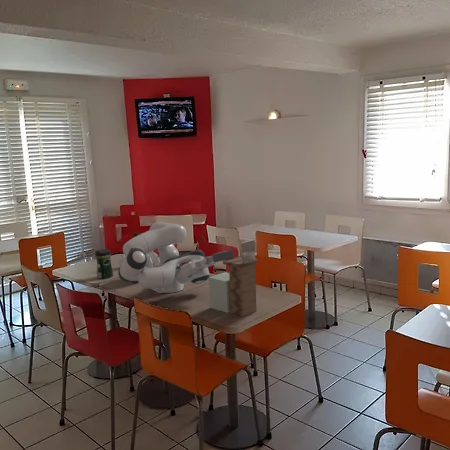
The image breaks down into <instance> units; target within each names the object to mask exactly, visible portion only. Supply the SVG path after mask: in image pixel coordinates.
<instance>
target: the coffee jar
mask: <svg viewBox="0 0 450 450" xmlns="http://www.w3.org/2000/svg"><path fill="white" fill-rule="evenodd" d="M94 253H95V255H94V256H95V259H96V273H97V274H96V276H97V279H99V278H100V279H101V280H105V278H106V279H109V278H112V277H113V276H114V272H113V267H112V261H111V256H112V254H111V253H112V252H111V249H109V248H102V249H98V250H95V252H94ZM100 279H99V280H100Z"/></svg>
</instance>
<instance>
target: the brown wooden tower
mask: <svg viewBox="0 0 450 450" xmlns="http://www.w3.org/2000/svg"><path fill="white" fill-rule="evenodd" d="M255 242H256V241H255V239H250V240H246V241H242V242H240V247H241V249H240V251H241V252H240V253H241V256H240V255H239V256H236V257H235V256H234V258H232V259H229V260H224V261H222V264H223V265H225V266H228V273H229V279H230V303H231V312H230V314H232V315H236V316H239V317H246V316H248V315H251V314H253V313H255V312H257V310H258V309H257V285H256V284H257V281H256V278H257V277H256V264H257V263H258V262H259V259H257V258H256V244H255Z"/></svg>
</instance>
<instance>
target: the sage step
mask: <svg viewBox="0 0 450 450" xmlns="http://www.w3.org/2000/svg"><path fill="white" fill-rule="evenodd" d="M208 289H209V290H208V291H209V308H210V309H212V310H216V311H220V312H224V313H226V314H229V313H231V303H230V279H229V272H221V273H219V274H215V275H212V276H209V278H208Z"/></svg>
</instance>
